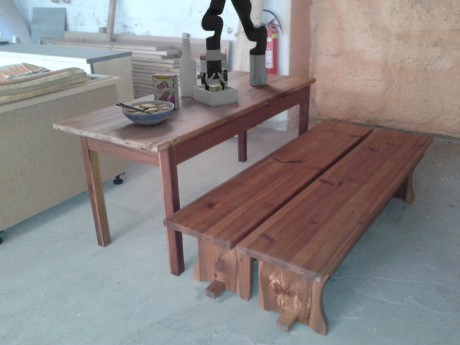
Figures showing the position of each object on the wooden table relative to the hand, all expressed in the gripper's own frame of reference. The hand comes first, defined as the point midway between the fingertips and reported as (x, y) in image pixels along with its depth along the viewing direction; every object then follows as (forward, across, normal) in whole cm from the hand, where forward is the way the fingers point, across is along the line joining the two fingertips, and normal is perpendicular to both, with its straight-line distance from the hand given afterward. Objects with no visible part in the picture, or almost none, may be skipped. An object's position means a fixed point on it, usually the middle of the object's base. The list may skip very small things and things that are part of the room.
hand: (215, 91), depth 229 cm
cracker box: (+5, -11, -19) cm, 23 cm away
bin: (+5, 0, 0) cm, 5 cm away
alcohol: (+5, +5, -19) cm, 20 cm away
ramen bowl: (+5, +43, +16) cm, 46 cm away
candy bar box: (+5, +26, -2) cm, 27 cm away
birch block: (+4, 0, 0) cm, 4 cm away
